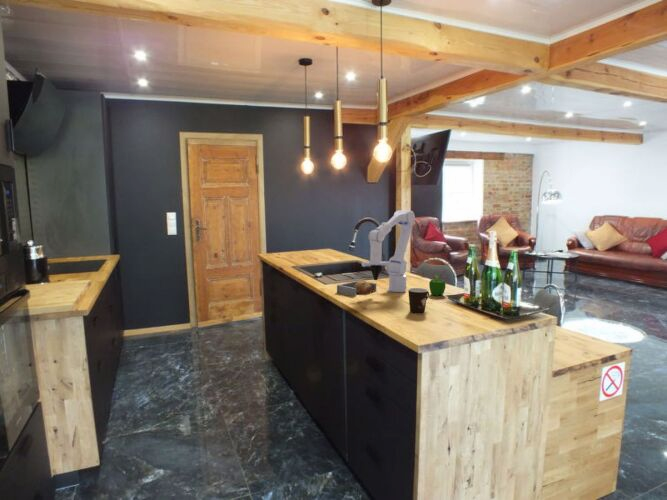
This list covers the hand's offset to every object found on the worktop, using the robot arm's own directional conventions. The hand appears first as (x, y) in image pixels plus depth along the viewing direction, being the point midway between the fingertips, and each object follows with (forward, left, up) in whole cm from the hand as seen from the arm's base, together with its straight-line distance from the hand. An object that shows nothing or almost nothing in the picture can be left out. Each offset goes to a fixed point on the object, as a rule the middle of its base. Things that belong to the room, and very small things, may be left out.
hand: (375, 279), depth 221 cm
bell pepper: (-31, -9, -9) cm, 34 cm away
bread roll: (+7, -7, -9) cm, 13 cm away
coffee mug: (-23, +26, -9) cm, 36 cm away
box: (+10, -6, -8) cm, 14 cm away
